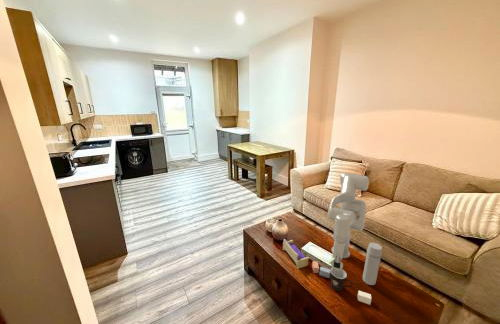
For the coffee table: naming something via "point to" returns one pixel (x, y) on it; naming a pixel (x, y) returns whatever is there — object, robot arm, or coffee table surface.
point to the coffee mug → (338, 279)
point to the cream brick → (364, 297)
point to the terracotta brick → (315, 267)
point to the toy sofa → (295, 254)
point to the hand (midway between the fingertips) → (336, 265)
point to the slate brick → (324, 272)
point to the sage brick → (333, 263)
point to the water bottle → (372, 263)
